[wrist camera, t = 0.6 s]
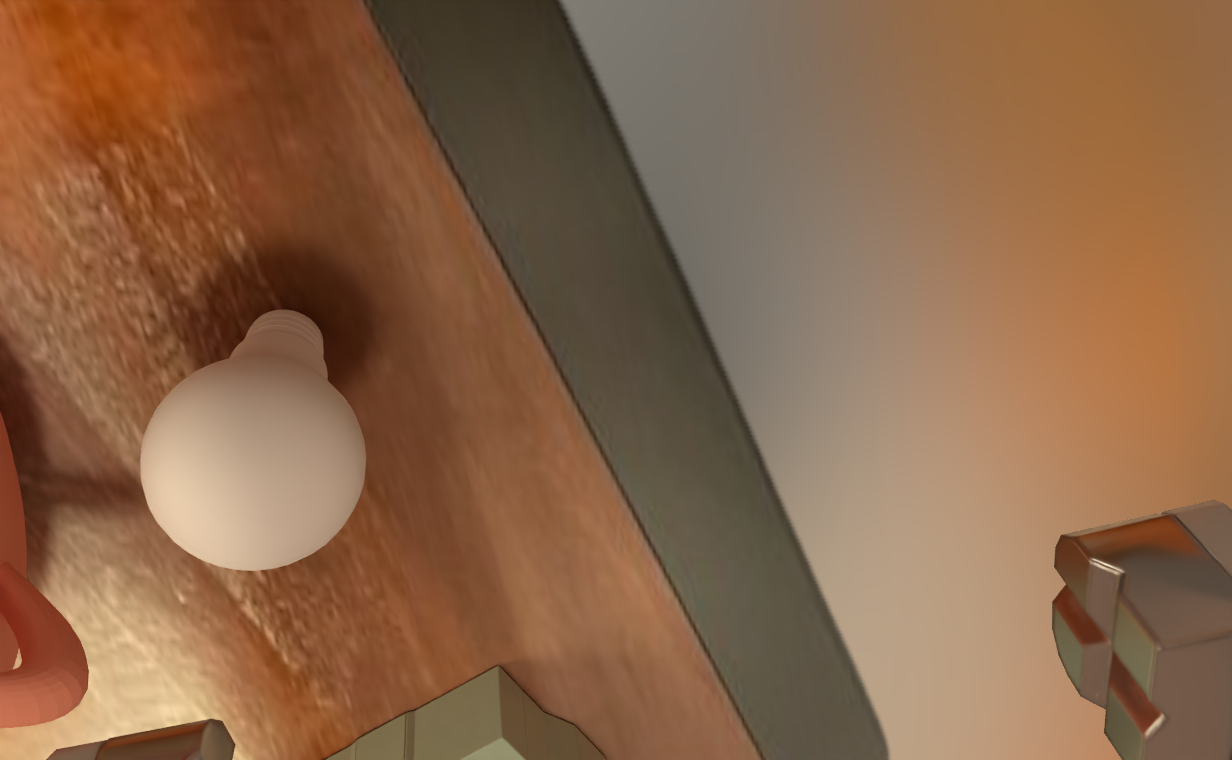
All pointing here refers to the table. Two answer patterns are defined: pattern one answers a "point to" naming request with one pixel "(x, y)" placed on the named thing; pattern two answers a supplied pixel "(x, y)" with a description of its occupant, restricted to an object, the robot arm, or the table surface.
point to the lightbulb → (255, 452)
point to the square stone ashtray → (475, 729)
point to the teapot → (31, 624)
